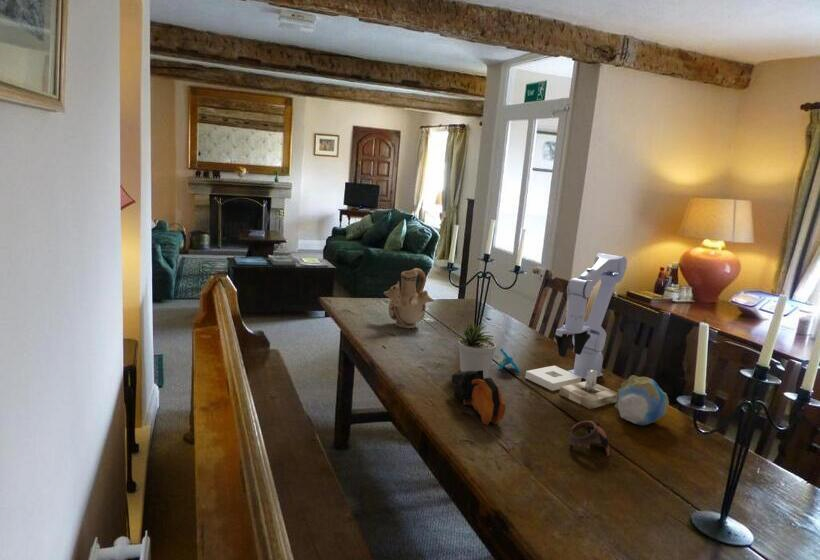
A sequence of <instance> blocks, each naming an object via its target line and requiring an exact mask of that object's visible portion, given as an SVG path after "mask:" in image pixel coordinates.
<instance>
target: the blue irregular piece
mask: <svg viewBox="0 0 820 560" xmlns="http://www.w3.org/2000/svg"><path fill="white" fill-rule="evenodd" d="M499 351H500V352H501V353H502V355H503V358H502V360H501V361H500V362H499V363H498V365H499V366H498V369H499V371H501V370H502V369H504V368H505V366H508V365H510V364H511V365H512V366H513V367H514V368H515V370H516V372H520V371H521V369H520V368H519V366H518V365H516V363H515V362H514V358H513V357H512V356H509V355H508V353H506V351H504V349H503V348H500V349H499Z"/></svg>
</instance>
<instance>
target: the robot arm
mask: <svg viewBox="0 0 820 560" xmlns="http://www.w3.org/2000/svg"><path fill="white" fill-rule="evenodd" d="M627 264H628V260H627V258H626V256H624V255H622V256H621V255H616V254H615V255H614V254H609V253H603V252H598V253H597V254H595V257H594V262H593V266H592V267H591V268H590V267H587V268H585V270H584V271H583V272H581V273H580V274H579V275H578V277H573V278H571V279H570V280H569V281H568V284H567V286H566V292H567V293H566V294H567V295H566V297H567V298H566V300H567V309H566V316H565V323H564V324H562V327H560V328H556V330H555V333H554V338H555V341H556V344H557V349H558V356H560V357H561V358H565V357H566V356H567V351H568V347H569V345H570V343H571V341H572V344H573V346H574V347H573V351H574V354H575V358H574V366H573V369H569V370H567V371H568V372H571V373H573V374H575V375H578V376H580V377H582V379H584V380H586V377H587V370H588V369H594V370H596V371H598V372H597V378H598V377H602V376H603V373H602V367H603V361H604V355H603V353H602V352H603V350H604V348H605V345H606V338H607V333H606V330H605V329H604V327H603V326H602V324H603V321H604V319H605V316H606V313H607V310H608V308H609V305H610V301H611V299H612V296H613V293H614V290H615V287H616V285H617V284H618V283H621V282H622V280H623V278H624V275H625V273H626V271H627ZM599 282H601V283H600V286H599V287H598V290H597V293H596V296H595V299H594V301H593V305H592V308H591V310H590V313H589V315H588V318H587V321H585V316H586V309H587V304H588V298H590V296H591V294H592V291H594V287H595V286H596V285H597V284H598V283H599ZM569 335H572V338H571V337H568V336H569Z"/></svg>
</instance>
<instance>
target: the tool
mask: <svg viewBox="0 0 820 560" xmlns="http://www.w3.org/2000/svg"><path fill="white" fill-rule="evenodd" d="M483 378H484V377H483V371H463V372H461V370H458V371H457V372H455V373H453V374H452V375H451V382H452V383H453V384H454V385H455V386H454V387H453V392H454V393H453V395H454V396H453V397H455V398H458V399H462V401H463V402H462V403H463V405H465V406H466V405H467V406H473V408H474V410H475V411H477V413H478V415H480V418H481V422H482V424H483V425H486V426H489V424H490V422H491V423H493V425H496V424H498V423H500V421H501V420H502V419H503V418H504V415H505V412H506V404H505V401H504V399H503V396H502V393H501V389H500V388H499V386H498V385H497V384H496V382H495V381H494V380H493V378H492V377H487V378H485V379H483Z"/></svg>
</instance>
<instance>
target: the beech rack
mask: <svg viewBox="0 0 820 560" xmlns="http://www.w3.org/2000/svg"><path fill="white" fill-rule="evenodd" d="M585 384H586V380H585V381H581V382H580V383H575V384H571V385H566V386H562V387H560V389H559V395H560V396H562V397H563V398H567V399H569V400H571V402H572V401H573V402H575V403H577V404H579V405H580V406H582V407H585V408H587V409H588V410H589V409H590V410H591V409H595V408H599V407H603V406H606V404H607V405H611V404H614V403H618V402H617V399H616V395H617V393H618V391H617V392H616V391H615V390H612V389H610V388H608V387H606V386H603V385H601V384H598V383H596V385H595V392H594V394H590V393H588V392H585ZM610 403H611V404H610Z"/></svg>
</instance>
